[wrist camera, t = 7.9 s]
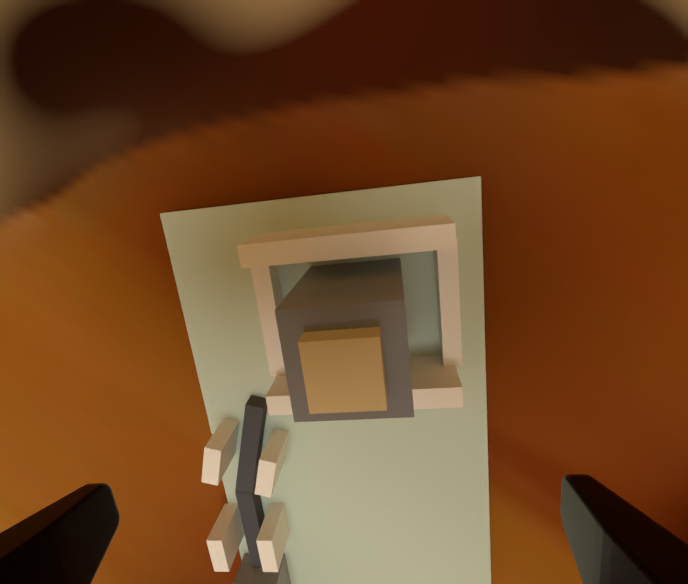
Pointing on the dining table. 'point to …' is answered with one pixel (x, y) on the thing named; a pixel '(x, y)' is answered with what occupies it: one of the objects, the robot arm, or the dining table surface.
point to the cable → (251, 473)
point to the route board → (351, 435)
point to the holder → (354, 242)
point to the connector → (347, 343)
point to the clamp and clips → (228, 528)
